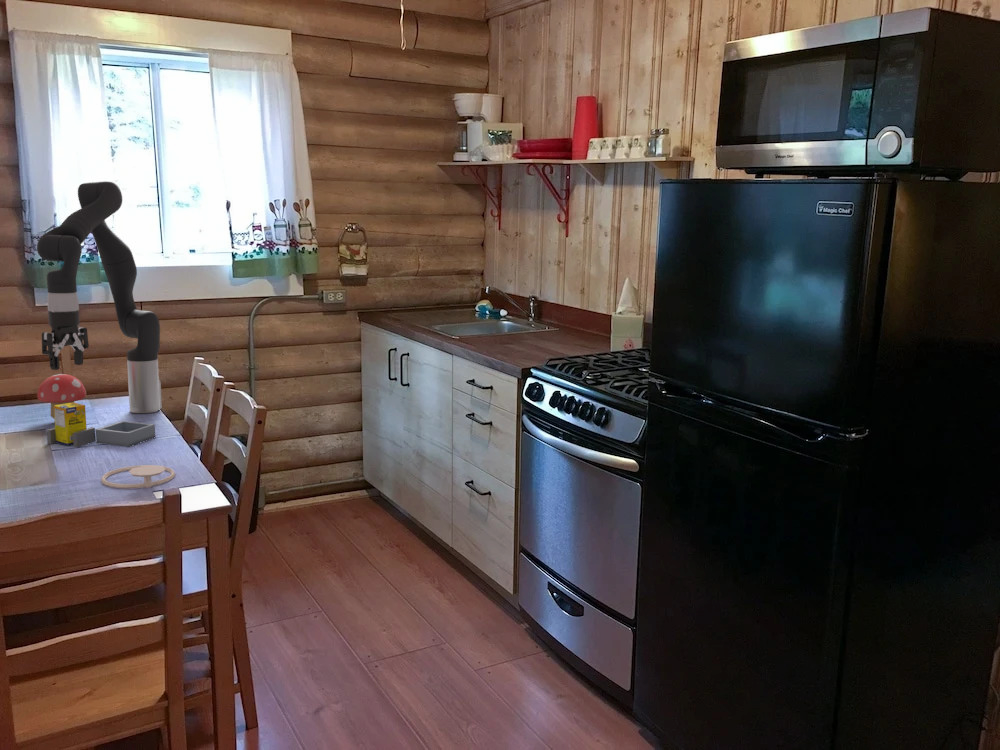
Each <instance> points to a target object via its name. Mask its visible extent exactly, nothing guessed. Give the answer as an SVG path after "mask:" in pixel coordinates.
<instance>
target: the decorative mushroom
mask: <svg viewBox="0 0 1000 750" xmlns="http://www.w3.org/2000/svg"><path fill="white" fill-rule="evenodd" d="M37 389H38V390H37V394H36V396H37V399H38V401H40V402H43V403H47V404H49V403H50V417H51V418H52V419H54V407H53V406H54V405H60V404H66V403H72V402H74V403H75V402H77V401H81V400H84V399H85V398H86V396H87V390H86V388H85V386H84V384H83V383H82V381H81V380H80V379H78V378H77V377H75V376H73V375H70V374H65V373H64V374H63V373H58V374H54V375H51V376H49V377H47V378H46V379H45V380H44V381H42V383H41V384H40V385H39V387H38V388H37Z"/></svg>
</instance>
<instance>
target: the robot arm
mask: <svg viewBox="0 0 1000 750" xmlns="http://www.w3.org/2000/svg"><path fill="white" fill-rule="evenodd" d="M77 198H78V199H77V200H78V202H79V205H80V209H79V208H78V210H75V211H74V212H72V213H71V214H69V215H68V216H67V217H66V218H65V219H64V220H63V221H62V223H61V224H60V225H59V226H57V227H54V228H52V229H51V230H48V231H47V232H45V233H44V234H42V236H41V237H40V238H39V239H38V242H37V245H36V251H37V254H38V256H39V257H40V258H42V260H44V261H47V262H63V265H62V267H61V268H60V269H55V270H50V271H48V272H47V274H46V282H47V283H46V285H47V301H46V302H47V313H48V314H47V315H48V325H49V327H50V328H51V332H48V331H47V332H45V331H44V332H42V333H41V354H42V355H45V356H48V358H49V367H50V369H51V370H52V371H53V370H54V371H58V370H60V357H59V356H58V355H59V354H60V352H61V351H62V350H63V349H64V347H68V346H70V347H71V349H73V360H74V364H75V365H76V366H81V365H83V364H84V351H85V349H89V346H90V345H89V344H90V343H89V336H88V335H89V334H88V328H87V327H82V326H81V327H80V325H81V323H80V322H81V321H80V306H79V304H80V303H79V299H78V298H79V297H78V290H77V289H78V288H77V274H78V268H79V264H80V260H81V255H82V250H83V249H82V244H83V243H84V241H86V239H87V238H88V237H89V235H90V234H92V237H93V239H94V242H95V245H96V247H97V251H98V254H99V258H100V262H101V264H102V268H103V270H104V274H105V276H106V279H107V282H108V285H109V288H110V292H111V295H112V299H113V302H114V307H115V313H116V316H117V322H118V325H119V329H120V331H121V332H122V334H123V335H124V336H125V337H127V338H130V339H137V344H136V346H135V347H134V348H132V349H130V350H128V351H127V352H126V362H127V363H126V364H127V365H126V366H127V381H128V382H127V383H128V403H129V405H128V406H129V412H130V413H133V414H150V413H155V412H159V411H160V410H161V409H162V408H163V407H162V405H163V404H162V385H161V380H160V379H159V359H158V358H159V357H158V355H159V353H160V343H161V340H160V339H161V338H160V337H161V328H160V327H161V326H160V320H159V317H158V316H157V313H155V312H153V311H151V310H150V311H149V310H141V309H138V308H137V305H136V303H135V300H134V295H133V292H134V286H135V284H136V280H137V275H138V268H137V265H136V262H135V258H134V256H133V253H132V250H131V249H130V247H129V246H128V245H127V243H125V242H124V241H123V239H121V238H120V237H119V236H118V235H117V234H116V233H115V232H114V231H113V230H112V229H111V228H110V226H109V225H108V224H107V221H106V219H108V218H109V217H110V216H113V214H116V213H117V211H119V210H120V208H121V206H122V204H123V194H122V190H121V189H120V187H119V186H118V184H116V183H115V182H113V181H106V180H105V181H103V180H102V181H92V182H84V183H81V184H79V186H78V187H77ZM158 410H159V411H158Z"/></svg>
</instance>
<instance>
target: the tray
mask: <svg viewBox="0 0 1000 750" xmlns="http://www.w3.org/2000/svg"><path fill="white" fill-rule="evenodd" d="M95 437H96V441H95V443H96V444H99V443H100V444H101V445H107V444H108V446H109V445H110V446H116V445H117V446H118V447H124V446H126V447H125V448H130V446H131V447H133V446H132V445H134V446H136V444H137V445H138V443H139V444H141V443H140V442H142V443H144V442H143V441H145V442H147V441H146V440H148V441H150V440H153V439H155V438H156V425H155V424H154V423H147V422H146V423H145V422H135V421H127V420H121V421H118V422H116V423H112V424H109V425H105V426H102V427H99V428H95ZM154 437H155V438H154ZM152 438H153V439H152ZM149 439H150V440H149Z"/></svg>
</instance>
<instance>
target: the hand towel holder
mask: <svg viewBox="0 0 1000 750" xmlns="http://www.w3.org/2000/svg"><path fill="white" fill-rule="evenodd" d="M127 471H128V472H129V474H130V475H132V476H133V477H138V478H139V477H140V478H143V482H141V483H115V482H111V481H108V480H107V478H108V477H110V476H112V475H115V474H118V473H123V472H127ZM164 472H168V473H169V474H170V475H169V476H167V477H165V478H163V479H158V480H155V481H152V477H154V476H155V477H156V476H160V475H161V474H162V473H164ZM175 476H176V472H175V470H174V469H173V468H171V467H168V466H164V465H158V464H157V465H156V464H155V465H154V464H153V465H152V464H151V465H150V464H145V465H144V464H143V465H132V466H125V467H119V468H116V469H113V470H111V471H110V470H109V471H107V472H105V473H104V474H103V475H102V477H101V479H100V482H101V483H102V484H103V485H104V486H106V487H110V488H114V489H125V490H126V489H128V490H129V489H142V488H143V489H144V488H145V489H146V488H147V489H148V488H149V489H150V488H152V487H154V486H158V485H163V484H166V483H167V482H169V481H171V480H172V479H174V478H175Z"/></svg>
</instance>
